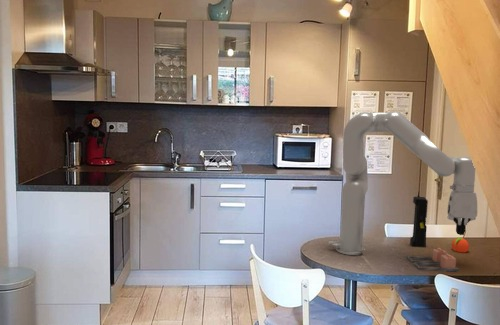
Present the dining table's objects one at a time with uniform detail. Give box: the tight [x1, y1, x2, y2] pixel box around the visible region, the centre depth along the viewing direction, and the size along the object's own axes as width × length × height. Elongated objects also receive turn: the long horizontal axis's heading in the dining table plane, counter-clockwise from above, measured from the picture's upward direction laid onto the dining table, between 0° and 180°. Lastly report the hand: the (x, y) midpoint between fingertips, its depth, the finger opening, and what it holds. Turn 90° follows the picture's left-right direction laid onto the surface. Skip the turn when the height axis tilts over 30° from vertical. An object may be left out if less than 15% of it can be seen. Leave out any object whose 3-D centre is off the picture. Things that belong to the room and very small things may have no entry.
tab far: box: [431, 247, 448, 261], centre depth 181 cm, size 4×4×5 cm
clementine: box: [451, 237, 470, 254], centre depth 197 cm, size 8×7×7 cm
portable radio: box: [409, 191, 429, 248], centre depth 204 cm, size 8×6×25 cm
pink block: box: [439, 252, 457, 268], centre depth 173 cm, size 4×4×5 cm
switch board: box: [406, 255, 460, 273], centre depth 178 cm, size 24×17×2 cm
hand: (460, 234), depth 180 cm, fingers closed
